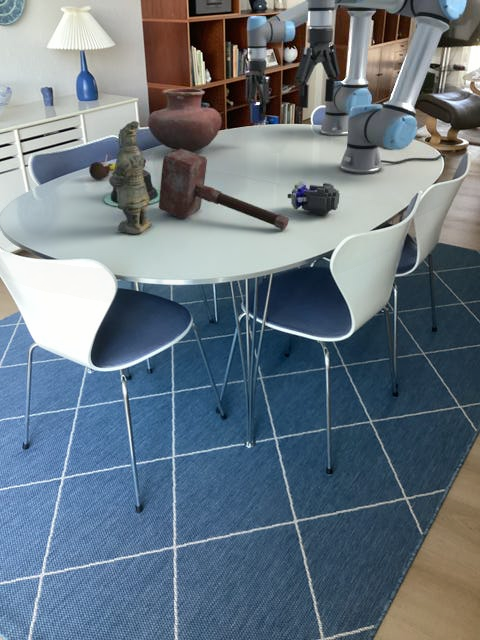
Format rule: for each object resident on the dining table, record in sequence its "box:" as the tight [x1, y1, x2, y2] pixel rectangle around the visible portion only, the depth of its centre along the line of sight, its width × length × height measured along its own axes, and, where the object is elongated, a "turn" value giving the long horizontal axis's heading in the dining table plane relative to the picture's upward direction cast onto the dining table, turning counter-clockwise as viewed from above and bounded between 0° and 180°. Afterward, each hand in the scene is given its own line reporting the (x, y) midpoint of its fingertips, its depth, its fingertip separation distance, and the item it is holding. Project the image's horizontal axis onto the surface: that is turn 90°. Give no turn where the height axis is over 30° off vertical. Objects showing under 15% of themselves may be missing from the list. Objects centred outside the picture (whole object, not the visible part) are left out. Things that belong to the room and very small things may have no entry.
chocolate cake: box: [103, 168, 160, 207], centre depth 186 cm, size 15×19×20 cm
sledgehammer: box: [158, 149, 290, 231], centre depth 163 cm, size 17×10×40 cm
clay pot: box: [147, 87, 223, 153], centre depth 235 cm, size 30×30×25 cm
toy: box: [287, 180, 341, 216], centre depth 168 cm, size 9×9×15 cm
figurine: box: [88, 154, 147, 181], centre depth 212 cm, size 13×8×25 cm
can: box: [250, 102, 265, 125], centre depth 236 cm, size 6×6×8 cm
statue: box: [108, 120, 153, 235], centre depth 154 cm, size 11×9×30 cm
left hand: (257, 118), depth 238 cm, fingers closed on can, 6 cm apart
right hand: (316, 104), depth 173 cm, fingers open, 13 cm apart
